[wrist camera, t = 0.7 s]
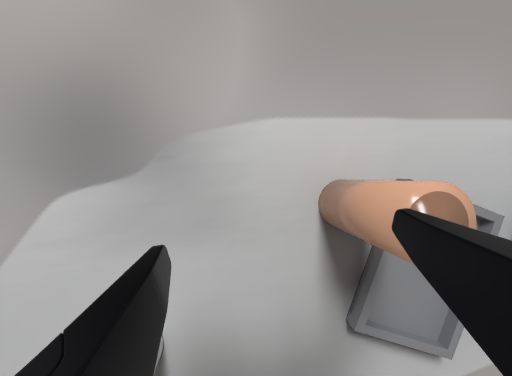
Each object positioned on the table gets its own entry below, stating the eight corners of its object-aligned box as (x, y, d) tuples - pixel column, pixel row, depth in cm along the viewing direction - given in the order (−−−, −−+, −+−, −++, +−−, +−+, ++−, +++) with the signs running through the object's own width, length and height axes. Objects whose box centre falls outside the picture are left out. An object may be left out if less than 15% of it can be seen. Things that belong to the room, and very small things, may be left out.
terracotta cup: (354, 233, 27) (459, 280, 15) (311, 218, 26) (382, 254, 14) (370, 188, 27) (489, 198, 15) (328, 172, 26) (414, 168, 14)
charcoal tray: (436, 347, 29) (451, 359, 27) (345, 319, 27) (354, 330, 25) (485, 213, 29) (504, 216, 27) (396, 179, 27) (409, 179, 25)
